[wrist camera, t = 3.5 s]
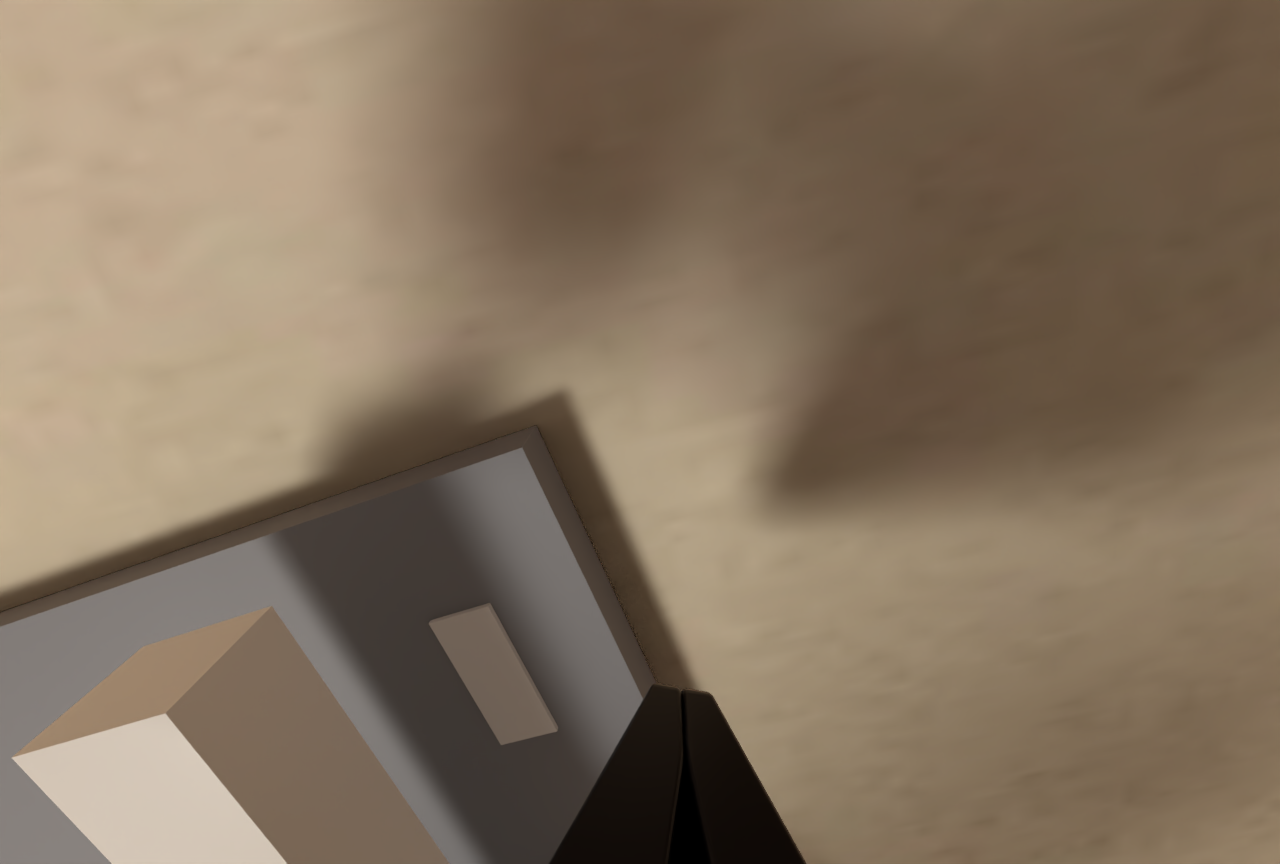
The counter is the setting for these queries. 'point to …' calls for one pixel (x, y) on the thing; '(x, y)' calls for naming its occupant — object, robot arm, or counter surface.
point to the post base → (379, 646)
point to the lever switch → (223, 760)
